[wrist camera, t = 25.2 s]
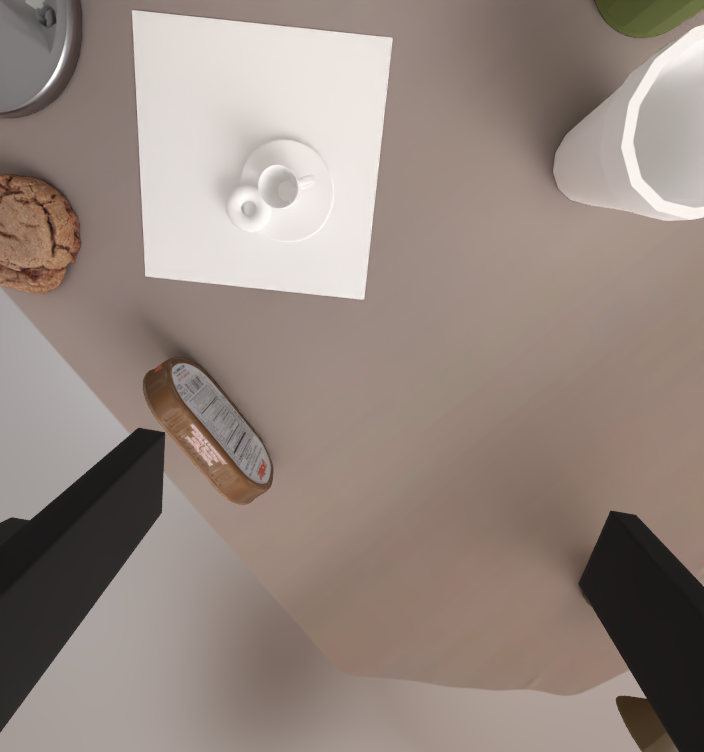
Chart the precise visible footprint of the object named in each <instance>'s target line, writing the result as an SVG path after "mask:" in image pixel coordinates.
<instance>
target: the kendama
mask: <svg viewBox="0 0 704 752" xmlns="http://www.w3.org/2000/svg"><path fill="white" fill-rule="evenodd" d="M583 597H584V598H585V600H586V602H587V603H588V604H589V605H590V606H591V604H590V602H589V601H588V599H587V597H586V596H585V594H584V592H583ZM616 704H617V706H618V710H619V712H620V714H621V716H622V718H623V720H624V723H625V724H626V727H627V728H628V730H629V732H630V734H631V735H632V737H633V739H634V740H635V742H636V743H637V745H638V746H639V748H640V750H641V751H642V752H679V751H678V750H677V748H676V746H675V745H674V743H673V741H672V740H671V738H670V736H669V735H668V733H667V731H666V730H665V728H664V726H663V725H662V723H661V721H660V720H659V718H658V716H657V714H656V713H655V711H654V709H653V708H652V706H651V704H650V703H649V701H648V699H644V698H637V697H631V696H618V697H617V698H616Z"/></svg>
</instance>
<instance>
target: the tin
mask: <svg viewBox="0 0 704 752" xmlns="http://www.w3.org/2000/svg"><path fill="white" fill-rule="evenodd" d="M143 392H144V396H145V399H146V402H147V404H148V406H149V408H150V410H151V412H152V414H153V415H154V417H155V418H156V420H157V421H158V422H159V423H160V425H161V426H162V427H163V428H164V429H165V430H166V432H167V433H168V434H169V435H170V436H171V437H172V438H173V440H174V441H175V442H176V443H177V444H178V445H179V447H180V448H181V449H182V450H183V451H184V452H185V453H186V455H187V456H188V457H189V458H190V459H191V460H192V462H193V463H194V464H195V465H196V466H197V467H198V469H199V470H200V471H201V472H202V473H203V475H204V476H205V477H206V478H207V479H208V480H209V481H210V483H211V484H212V485H213V486H214V487H215V488H216V489H217V491H218V492H219V493H220V494H221V495H223V496H224V497H225V498H227V499H228V500H230V501H232V502H234V503H236V504H240V505H246V504H249V503H251V502H252V501H253V500H254V499H255V498H257V497H258V496H260V495H261V494H263V493H264V492H266V491H267V490H268V489H269V488H270V487H271V484H272V480H273V465H272V461H271V458H270V456H269V453H268V451H267V449H266V447H265V445H264V444H263V442H262V441H261V439H260V438H259V436H258V435H257V434H256V433H255V431H254V430H253V429H252V427H251V426H250V425H249V424H248V422H247V421H246V420H245V419H244V417H243V416H242V415H241V413H240V412H239V411H238V410H237V408H236V407H235V406H234V405H233V403H232V402H231V401H230V400H229V398H228V397H227V396H226V395H225V394H224V392H223V391H222V390H221V389H220V387H219V386H218V385H217V384H216V382H215V381H214V380H213V379H212V378H211V377H210V376H209V375H208V374H207V373H206V372H205V371H204V370H203V369H202V368H201V367H199V366H198V365H197V364H195V363H194V362H192V361H190V360H188V359H185V358H180V357H179V358H171V359H168V360H167V361H165V362H164V363H162V364H161V365H159V366H158V367H157V368H155V369H153V370H150V371H149V372H148V373H147V374H146V375H145V377H144V380H143Z"/></svg>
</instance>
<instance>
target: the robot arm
mask: <svg viewBox="0 0 704 752" xmlns="http://www.w3.org/2000/svg"><path fill="white" fill-rule="evenodd" d="M81 40H82V13H81V5H80V0H0V118H16V117H22V116H27V115H30V114H32V113H35V112H37V111H39V110H41V109H43V108H45V107H46V106H47V105H49V104H50V103H51V102H53V101H54V100H55V99H56V98H57V97H58V96H59V95H60V93H61V92H62V91H63V90H64V88H65V87H66V85H67V84H68V82H69V80H70V78H71V77H72V75H73V72H74V70H75V67H76V64H77V61H78V57H79V53H80V48H81ZM164 448H165V432H160V431H154V430H148V429H143V428H138V429H136V430H135V431H134V432H133V433H132V434H131V435H129V436H128V437H127V438H126V439H125V440H124V441H123V442H121V443H120V444H119V445H118V446H117V447H115V448H114V449H113V450H112V451H111V452H110V453H108V454H107V455H106V456H105V457H104V458H103V459H102V460H100V461H99V462H98V463H97V464H96V465H94V466H93V467H92V468H91V469H90V470H88V471H87V472H86V473H85V474H84V475H83V476H81V477H80V478H79V479H78V480H77V481H76V482H75V483H73V484H72V485H71V486H70V487H69V488H67V489H66V490H65V491H64V492H63V493H62V494H60V495H59V496H58V497H57V498H56V499H55V500H53V501H52V502H51V503H50V504H49V505H48V506H46V507H45V508H44V509H43V510H42V511H41V512H39V513H38V514H37V515H36V516H35V517H33V518H32V519H31V520H24V519H18V518H9V519H8V520H5V521H3V522H1V523H0V732H1V731H2V729H3V728H4V727H5V725H6V724H7V723H8V721H9V720H10V719H11V717H12V716H13V715H14V713H15V712H16V710H17V709H18V708H19V706H20V705H21V704H22V702H23V701H24V700H25V698H26V697H27V695H28V694H29V693H30V691H31V690H32V688H33V687H34V686H35V685H36V683H37V682H38V681H39V679H40V678H41V676H42V675H43V674H44V672H45V671H46V670H47V668H48V667H49V666H50V664H51V663H52V661H53V660H54V659H55V657H56V656H57V654H58V653H59V652H60V651H61V649H62V648H63V646H64V645H65V644H66V642H67V641H68V640H69V638H70V637H71V636H72V634H73V633H74V631H75V630H76V629H77V627H78V626H79V625H80V623H81V622H82V620H83V619H84V618H85V616H86V615H87V614H88V612H89V611H90V610H91V608H92V607H93V606H94V604H95V603H96V602H97V600H98V599H99V597H100V596H101V595H102V593H103V592H104V591H105V589H106V588H107V587H108V585H109V584H110V582H111V581H112V580H113V578H114V577H115V576H116V574H117V573H118V572H119V570H120V569H121V567H122V566H123V565H124V563H125V562H126V561H127V559H128V558H129V556H130V555H131V554H132V552H133V551H134V550H135V548H136V547H137V545H138V544H139V543H140V541H141V540H142V539H143V537H144V536H145V535H146V533H147V532H148V531H149V529H150V528H151V527H152V525H153V524H154V522H155V521H156V520H157V518H158V517H159V516H160V514H161V513H162V494H163V471H164ZM579 586H580V587H581V589H582V591H583V592H584V594H585V596H586V597H587V599H588V601H589V602H590V604H591V606H592V607H593V609H594V611H595V612H596V614H597V616H598V617H599V619H600V621H601V623H602V624H603V626H604V628H605V629H606V631H607V633H608V634H609V636H610V638H611V639H612V641H613V643H614V644H615V646H616V648H617V649H618V651H619V653H620V654H621V656H622V658H623V659H624V661H625V663H626V664H627V666H628V668H629V669H630V671H631V673H632V674H633V676H634V678H635V679H636V681H637V682H638V684H639V686H640V688H641V689H642V691H643V693H644V694H645V696H646V697H647V699H648V701H649V703H650V704H651V706H652V708H653V709H654V711H655V713H656V714H657V716H658V718H659V720H660V721H661V723H662V725H663V726H664V728H665V730H666V731H667V733H668V735H669V736H670V738H671V740H672V741H673V743H674V745H675V746H676V748H677V750H678V751H679V752H704V586H703V585H702V584H701V583H700V582H699V581H698V580H697V579H696V578H695V577H694V576H693V575H692V574H691V573H690V572H689V571H688V570H687V568H686V567H685V566H684V565H683V564H682V563H681V562H680V561H679V560H678V559H677V558H676V557H675V556H674V555H673V554H672V553H671V552H670V550H669V549H668V548H667V547H666V546H665V545H664V544H663V543H662V542H661V541H660V540H659V539H658V538H657V537H656V536H655V535H654V534H653V533H652V531H651V530H650V529H649V528H648V527H647V526H646V525H645V524H644V523H643V522H642V521H641V520H640V519H639V518H638V517H637V516H636V515H633V514H627V513H621V512H616V511H610V513H609V516H608V518H607V520H606V522H605V525H604V527H603V529H602V531H601V534H600V536H599V538H598V541H597V543H596V545H595V547H594V550H593V552H592V554H591V557H590V559H589V561H588V563H587V566H586V568H585V570H584V573H583V575H582V577H581V579H580V582H579Z"/></svg>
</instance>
